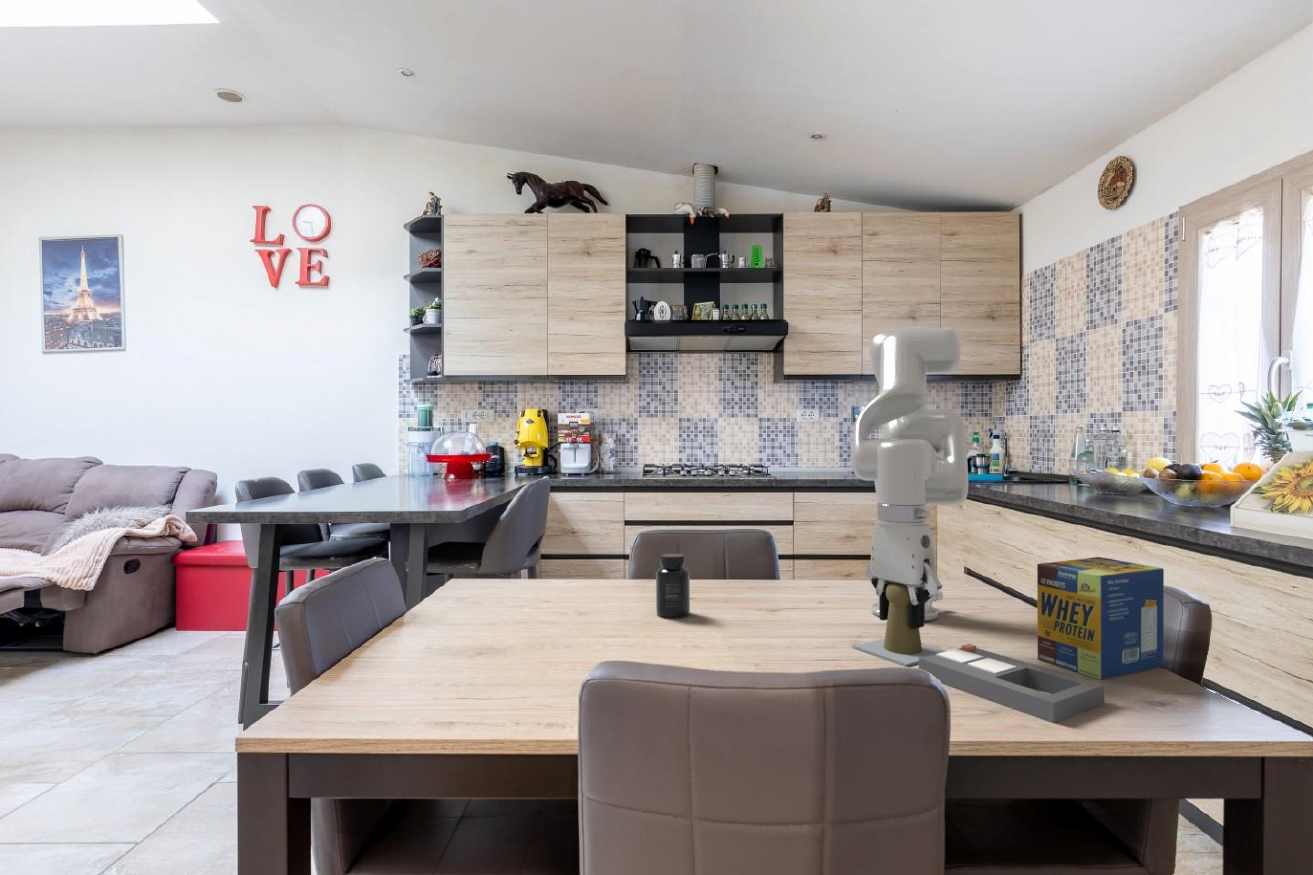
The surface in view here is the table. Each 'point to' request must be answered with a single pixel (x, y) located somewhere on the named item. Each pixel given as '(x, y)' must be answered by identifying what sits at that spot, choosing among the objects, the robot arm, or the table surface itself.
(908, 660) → the slate mat
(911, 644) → the cork
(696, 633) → the table surface
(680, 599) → the supplement bottle
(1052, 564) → the protein box
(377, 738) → the table surface
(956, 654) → the grey compartment tray
